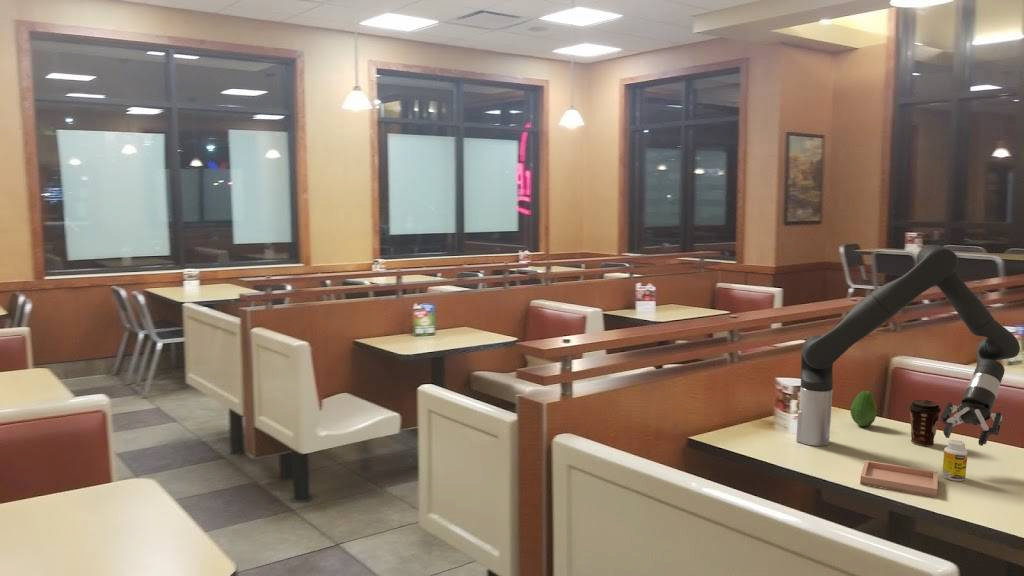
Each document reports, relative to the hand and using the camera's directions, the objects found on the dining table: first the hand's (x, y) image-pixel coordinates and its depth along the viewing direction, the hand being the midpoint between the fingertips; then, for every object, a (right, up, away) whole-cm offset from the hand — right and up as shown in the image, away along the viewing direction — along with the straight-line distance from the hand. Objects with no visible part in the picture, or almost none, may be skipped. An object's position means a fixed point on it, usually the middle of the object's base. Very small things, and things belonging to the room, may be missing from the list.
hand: (963, 440), depth 212 cm
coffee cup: (+3, -6, +27) cm, 28 cm away
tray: (-21, -10, -5) cm, 24 cm away
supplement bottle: (-4, -10, -2) cm, 11 cm away
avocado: (-8, -4, +44) cm, 45 cm away
